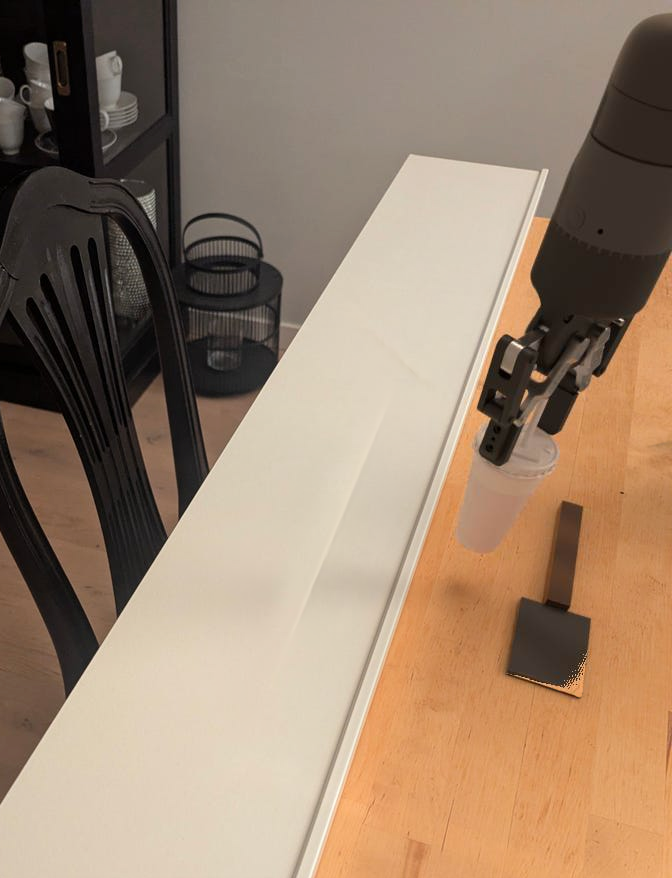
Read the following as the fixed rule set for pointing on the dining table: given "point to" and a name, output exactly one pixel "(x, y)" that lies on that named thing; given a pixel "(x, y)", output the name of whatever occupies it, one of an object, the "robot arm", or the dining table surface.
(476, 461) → the smoothie
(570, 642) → the spatula
